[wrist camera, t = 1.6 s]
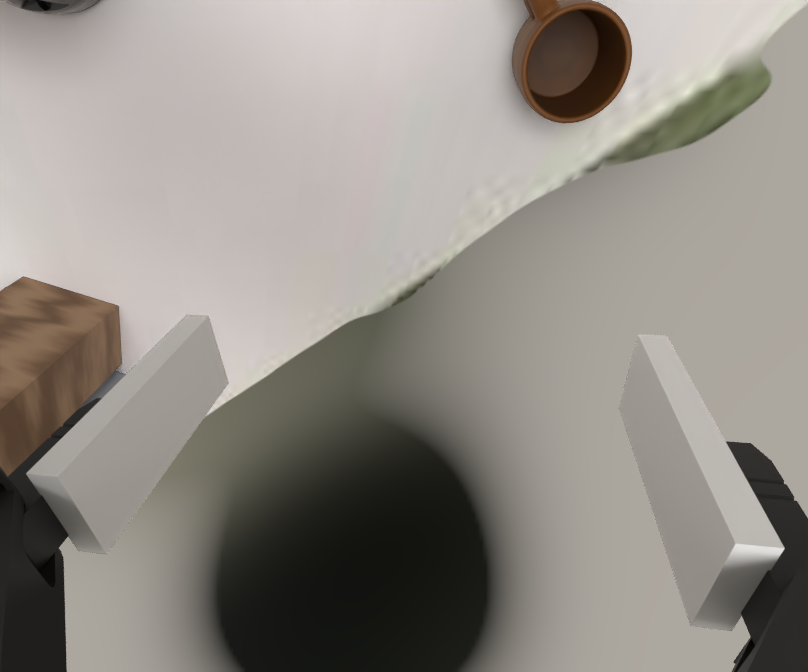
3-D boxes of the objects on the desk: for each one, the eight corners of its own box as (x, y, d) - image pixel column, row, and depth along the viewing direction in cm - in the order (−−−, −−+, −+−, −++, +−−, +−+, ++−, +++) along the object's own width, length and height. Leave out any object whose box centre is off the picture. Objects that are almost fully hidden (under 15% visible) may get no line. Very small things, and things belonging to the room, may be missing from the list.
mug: (467, -12, 39) (465, -14, 32) (555, -85, 36) (577, -106, 29) (535, 120, 44) (549, 146, 37) (618, 66, 41) (652, 82, 33)
